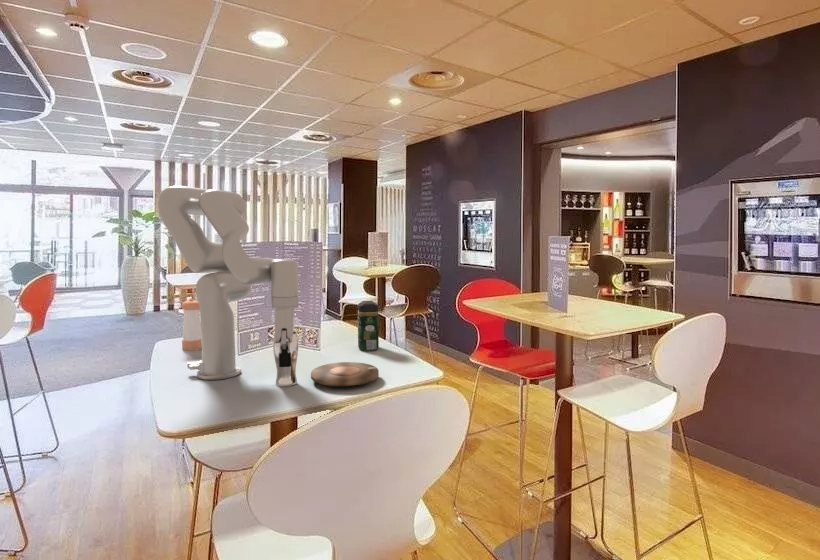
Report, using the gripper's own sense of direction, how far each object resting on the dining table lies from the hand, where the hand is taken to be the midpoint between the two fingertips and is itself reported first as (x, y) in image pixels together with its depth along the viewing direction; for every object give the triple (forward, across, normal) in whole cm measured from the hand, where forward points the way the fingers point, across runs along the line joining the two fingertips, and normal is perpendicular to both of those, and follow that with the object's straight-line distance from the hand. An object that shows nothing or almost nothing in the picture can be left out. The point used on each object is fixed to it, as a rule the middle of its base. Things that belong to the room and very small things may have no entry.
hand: (286, 362), depth 131 cm
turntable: (+5, 0, +17) cm, 18 cm away
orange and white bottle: (+6, -50, -38) cm, 63 cm away
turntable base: (+6, 0, +17) cm, 18 cm away
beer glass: (+6, 0, 0) cm, 6 cm away
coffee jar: (+6, -38, +28) cm, 48 cm away
